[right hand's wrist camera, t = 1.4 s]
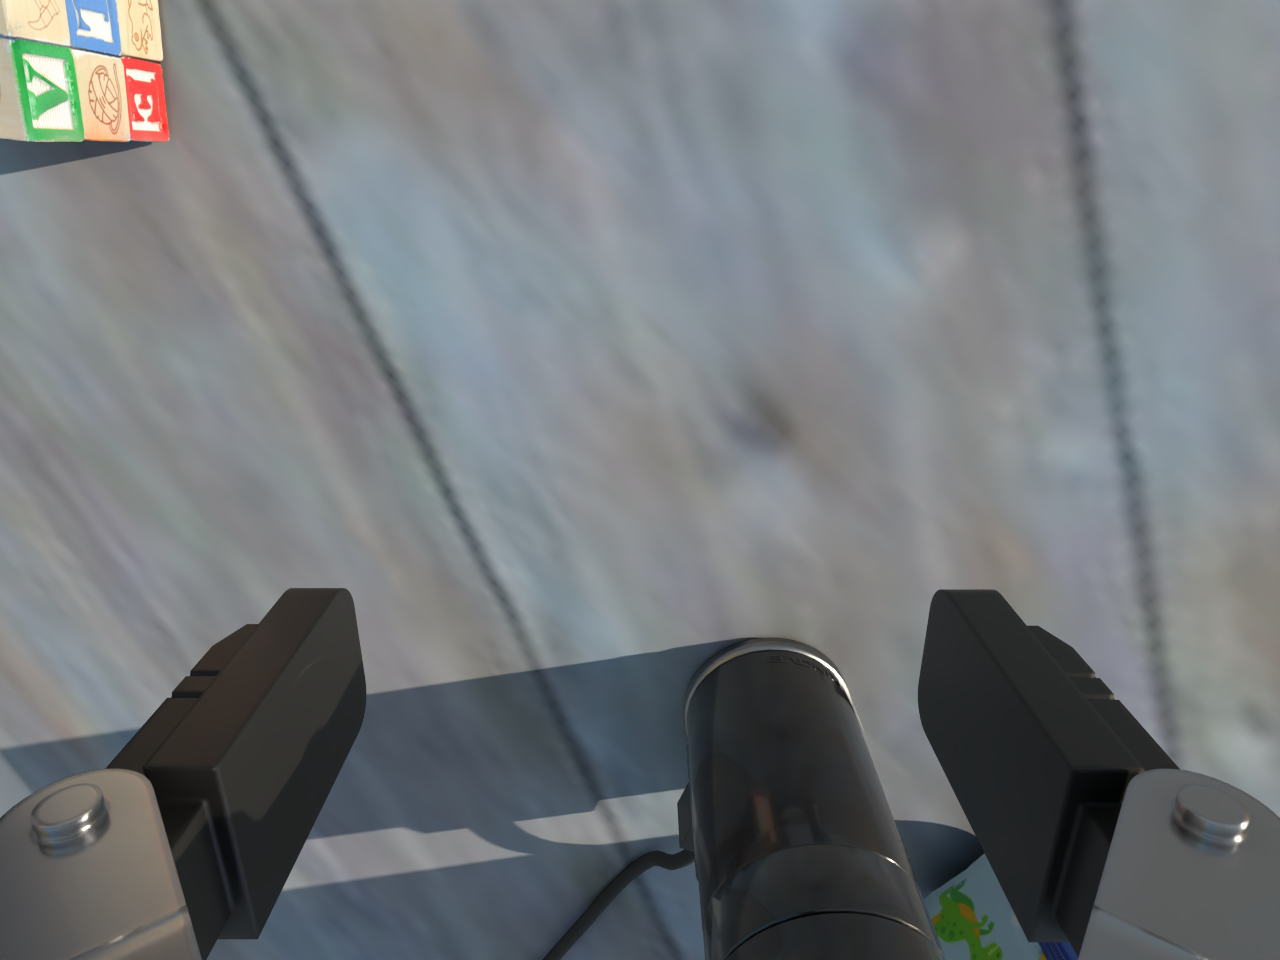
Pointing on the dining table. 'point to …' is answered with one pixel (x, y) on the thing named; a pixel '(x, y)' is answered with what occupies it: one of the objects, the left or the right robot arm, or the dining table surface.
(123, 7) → the stack of blocks
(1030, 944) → the lunch box
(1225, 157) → the dining table surface
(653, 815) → the dining table surface
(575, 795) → the dining table surface
